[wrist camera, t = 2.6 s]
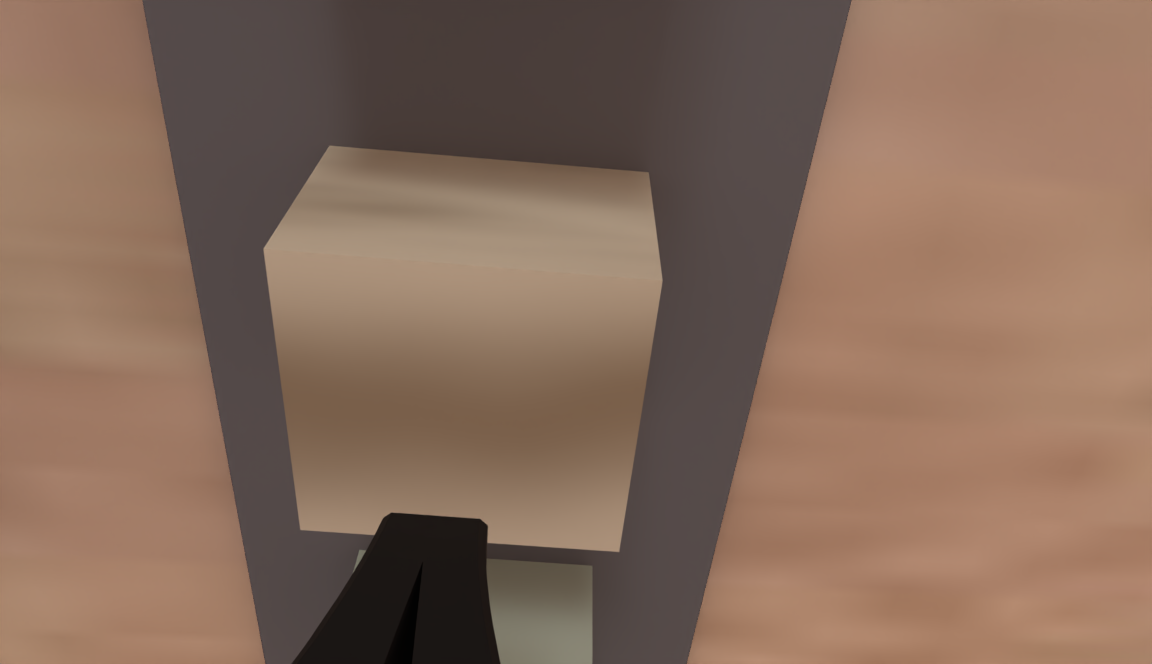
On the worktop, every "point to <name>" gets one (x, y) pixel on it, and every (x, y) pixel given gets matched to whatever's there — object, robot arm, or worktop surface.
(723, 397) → the tap mat
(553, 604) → the numeral block seven
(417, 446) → the plain block
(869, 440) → the worktop surface
